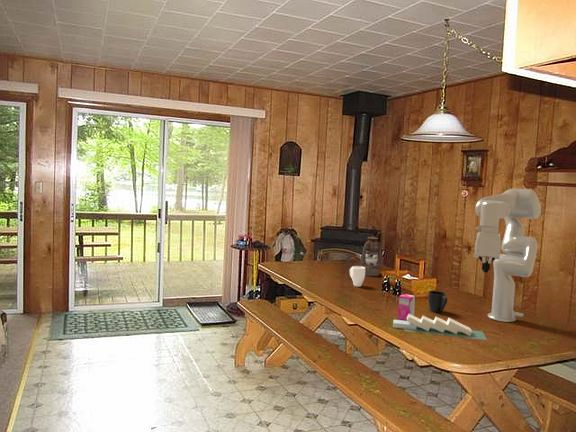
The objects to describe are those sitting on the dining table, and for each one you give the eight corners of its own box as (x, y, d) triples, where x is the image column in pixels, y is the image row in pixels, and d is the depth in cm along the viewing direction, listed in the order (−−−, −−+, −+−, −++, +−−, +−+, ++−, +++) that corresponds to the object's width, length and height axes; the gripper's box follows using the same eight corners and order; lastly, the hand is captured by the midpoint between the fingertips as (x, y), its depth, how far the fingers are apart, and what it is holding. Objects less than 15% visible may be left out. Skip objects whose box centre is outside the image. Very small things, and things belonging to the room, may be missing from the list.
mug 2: (367, 286, 297) (368, 268, 296) (356, 287, 293) (357, 268, 292) (354, 282, 308) (356, 264, 307) (344, 283, 304) (345, 265, 303)
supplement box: (402, 317, 235) (404, 293, 234) (414, 319, 231) (415, 296, 230) (397, 319, 231) (398, 295, 230) (408, 322, 227) (410, 298, 226)
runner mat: (482, 332, 217) (482, 331, 217) (487, 340, 205) (487, 340, 205) (403, 323, 224) (403, 322, 224) (403, 331, 213) (404, 330, 213)
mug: (437, 315, 240) (438, 296, 239) (424, 309, 252) (425, 290, 251) (452, 315, 242) (453, 296, 242) (438, 308, 254) (439, 290, 253)
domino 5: (470, 328, 215) (448, 317, 217) (472, 331, 210) (449, 321, 211) (468, 332, 215) (446, 321, 217) (469, 335, 210) (447, 325, 212)
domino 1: (416, 321, 220) (393, 319, 222) (416, 325, 215) (393, 322, 217) (415, 326, 220) (393, 323, 222) (416, 329, 215) (392, 327, 217)
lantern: (356, 273, 337) (359, 222, 334) (375, 272, 344) (378, 222, 342) (365, 276, 328) (368, 224, 325) (385, 275, 335) (388, 224, 332)
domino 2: (429, 323, 219) (408, 313, 220) (430, 327, 213) (408, 316, 215) (427, 327, 219) (406, 317, 221) (428, 331, 214) (406, 320, 215)
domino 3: (444, 325, 217) (422, 315, 219) (445, 328, 212) (423, 318, 214) (442, 329, 218) (420, 319, 219) (443, 332, 212) (421, 322, 214)
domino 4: (457, 326, 216) (435, 316, 218) (458, 330, 211) (436, 319, 213) (455, 330, 216) (433, 320, 218) (456, 334, 211) (434, 323, 213)
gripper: (471, 229, 211) (468, 272, 212) (509, 232, 207) (505, 275, 209) (469, 228, 218) (466, 269, 219) (505, 230, 215) (501, 271, 216)
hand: (485, 271), depth 214 cm, fingers closed
